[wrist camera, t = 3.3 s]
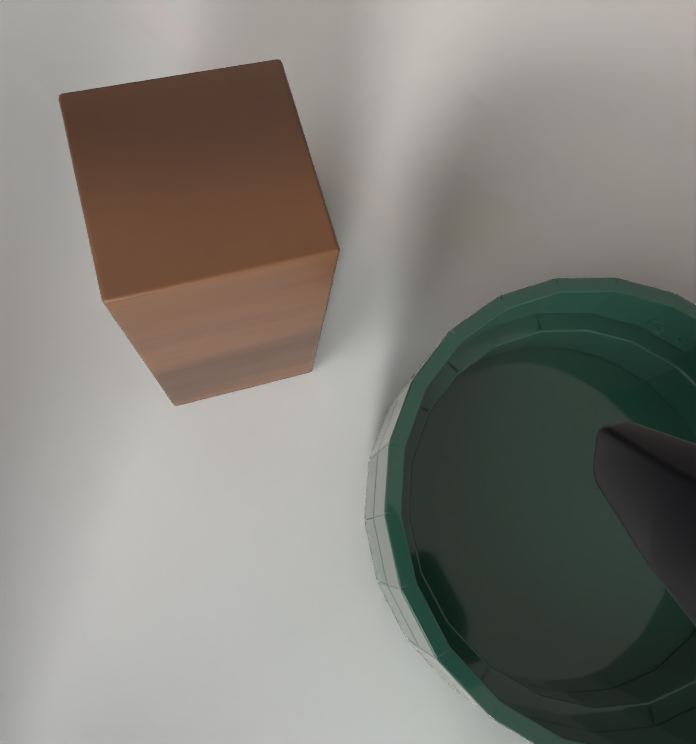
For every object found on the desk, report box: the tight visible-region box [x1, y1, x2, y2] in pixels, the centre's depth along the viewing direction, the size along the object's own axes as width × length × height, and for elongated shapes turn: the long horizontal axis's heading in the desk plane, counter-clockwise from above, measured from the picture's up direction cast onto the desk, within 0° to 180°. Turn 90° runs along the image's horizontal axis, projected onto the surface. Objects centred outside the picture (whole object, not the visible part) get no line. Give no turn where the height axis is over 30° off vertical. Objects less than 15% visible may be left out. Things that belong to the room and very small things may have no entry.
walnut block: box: [59, 59, 340, 406], centre depth 19 cm, size 5×5×10 cm
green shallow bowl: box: [365, 278, 696, 744], centre depth 21 cm, size 14×14×4 cm
